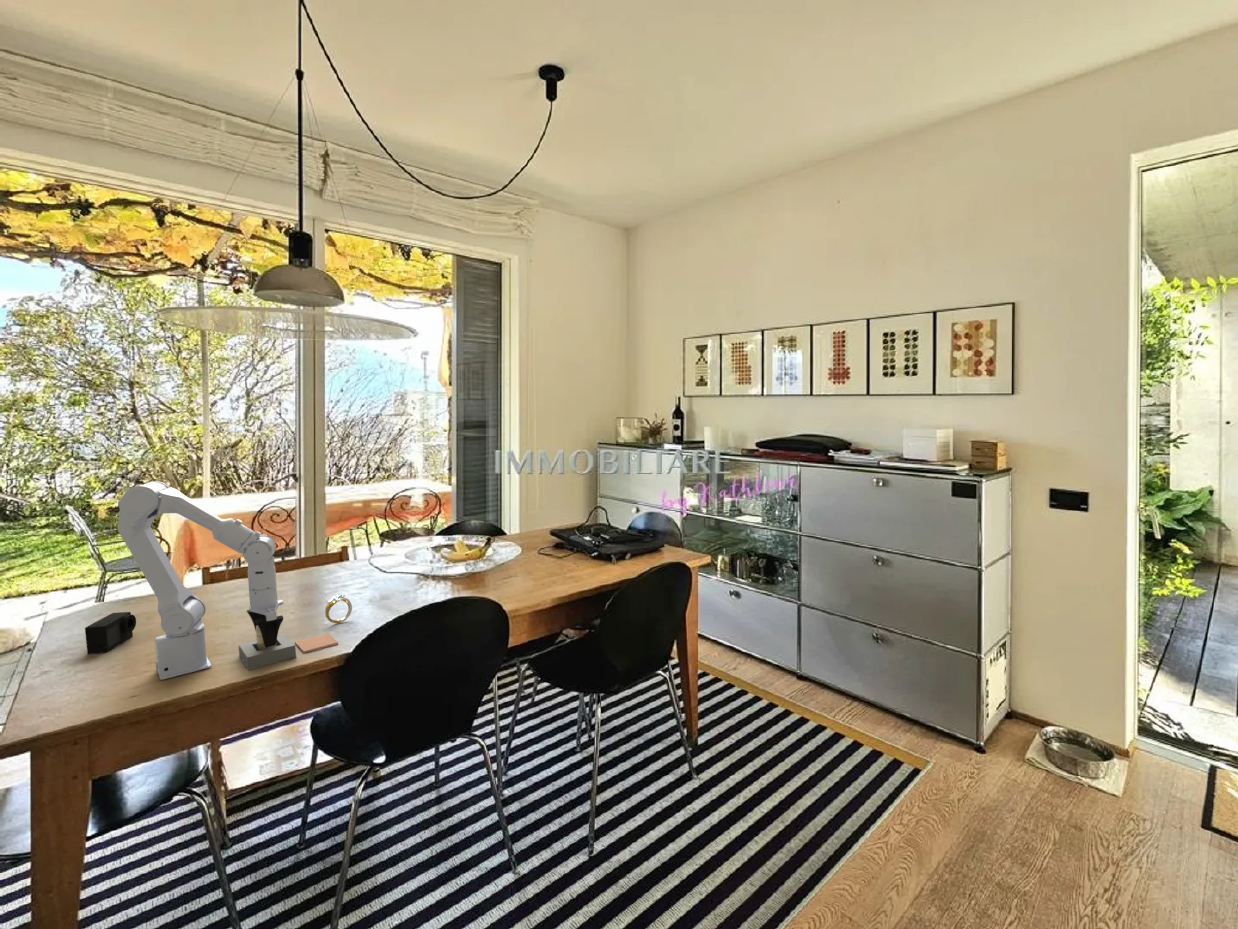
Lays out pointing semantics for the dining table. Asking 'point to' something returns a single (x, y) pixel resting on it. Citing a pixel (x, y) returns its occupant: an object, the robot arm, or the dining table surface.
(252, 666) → the pocket block
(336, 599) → the ring
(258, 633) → the peg
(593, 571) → the dining table surface
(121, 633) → the digital camera
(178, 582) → the robot arm
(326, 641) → the pad
